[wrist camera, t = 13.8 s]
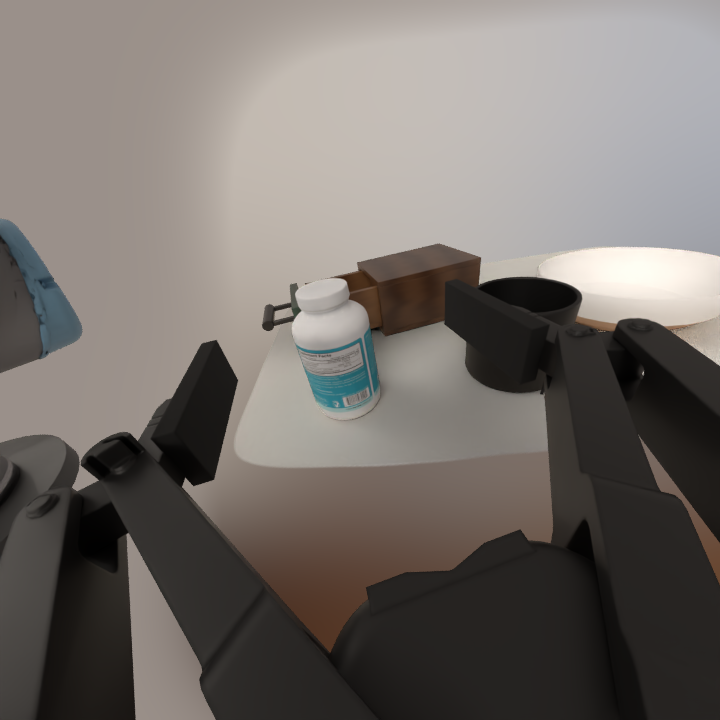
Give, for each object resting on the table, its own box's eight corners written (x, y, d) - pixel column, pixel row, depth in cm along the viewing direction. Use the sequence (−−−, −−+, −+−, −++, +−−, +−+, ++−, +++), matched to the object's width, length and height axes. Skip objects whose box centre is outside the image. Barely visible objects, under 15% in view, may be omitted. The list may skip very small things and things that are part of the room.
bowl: (615, 369, 28) (640, 316, 25) (501, 303, 44) (507, 265, 41) (777, 327, 29) (822, 271, 26) (609, 278, 46) (623, 239, 42)
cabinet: (384, 336, 42) (378, 282, 37) (364, 307, 52) (357, 262, 47) (476, 312, 43) (481, 257, 39) (438, 288, 54) (439, 243, 49)
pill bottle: (343, 373, 35) (317, 271, 28) (392, 387, 32) (379, 273, 24) (304, 411, 31) (261, 300, 23) (357, 433, 27) (326, 308, 19)
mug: (591, 360, 30) (623, 281, 25) (518, 407, 26) (537, 325, 21) (514, 330, 37) (526, 264, 32) (448, 364, 33) (450, 295, 28)
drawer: (272, 359, 40) (254, 317, 36) (274, 327, 49) (260, 291, 45) (396, 326, 42) (392, 283, 38) (375, 301, 51) (370, 265, 47)
